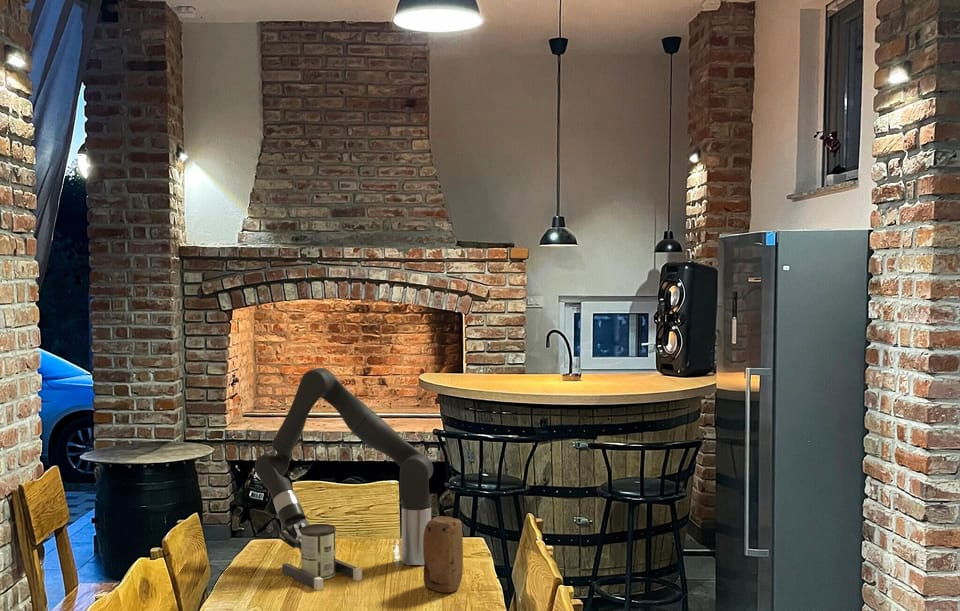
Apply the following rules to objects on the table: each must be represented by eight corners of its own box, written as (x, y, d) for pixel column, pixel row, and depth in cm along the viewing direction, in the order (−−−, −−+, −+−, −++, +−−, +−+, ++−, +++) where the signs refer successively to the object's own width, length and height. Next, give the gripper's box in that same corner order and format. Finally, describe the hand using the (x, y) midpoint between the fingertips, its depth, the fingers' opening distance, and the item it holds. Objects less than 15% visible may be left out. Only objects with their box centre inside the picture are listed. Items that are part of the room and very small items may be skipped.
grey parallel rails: (325, 564, 271) (325, 554, 271) (361, 579, 256) (361, 569, 256) (282, 573, 261) (282, 563, 261) (317, 590, 246) (317, 579, 246)
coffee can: (311, 568, 267) (311, 522, 267) (341, 571, 263) (341, 525, 263) (293, 578, 257) (293, 530, 257) (325, 582, 254) (325, 533, 253)
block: (465, 588, 248) (465, 518, 248) (450, 596, 242) (450, 524, 242) (434, 581, 254) (434, 513, 254) (418, 589, 248) (419, 518, 248)
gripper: (273, 505, 267) (293, 554, 258) (311, 498, 276) (332, 546, 266) (265, 519, 271) (284, 568, 262) (303, 512, 280) (323, 559, 270)
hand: (308, 556), depth 264 cm, fingers closed
